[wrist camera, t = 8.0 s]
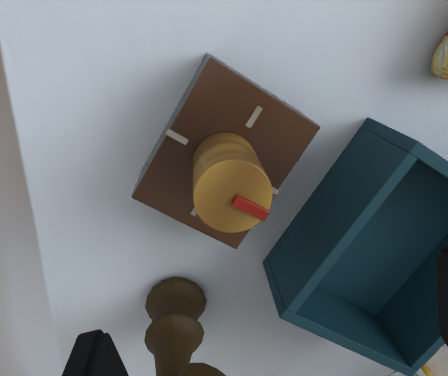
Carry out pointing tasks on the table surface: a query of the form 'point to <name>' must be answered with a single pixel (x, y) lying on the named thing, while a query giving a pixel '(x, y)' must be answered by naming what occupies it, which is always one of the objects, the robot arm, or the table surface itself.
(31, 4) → the table surface
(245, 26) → the table surface
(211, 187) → the tap knob
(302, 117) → the block
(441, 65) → the croissant
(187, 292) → the kendama
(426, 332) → the teal open box
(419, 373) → the beverage box
